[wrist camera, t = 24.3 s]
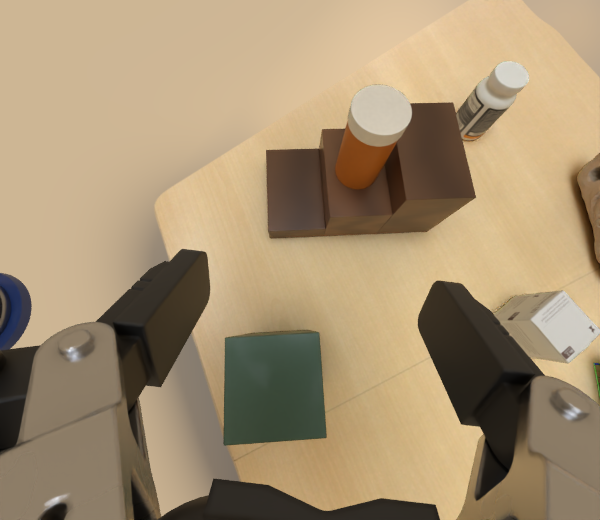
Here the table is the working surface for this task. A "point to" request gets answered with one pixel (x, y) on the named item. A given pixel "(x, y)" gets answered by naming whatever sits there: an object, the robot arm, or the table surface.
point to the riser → (383, 192)
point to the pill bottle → (491, 99)
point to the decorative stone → (592, 197)
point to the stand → (273, 387)
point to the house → (596, 376)
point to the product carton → (548, 325)
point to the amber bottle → (371, 134)
